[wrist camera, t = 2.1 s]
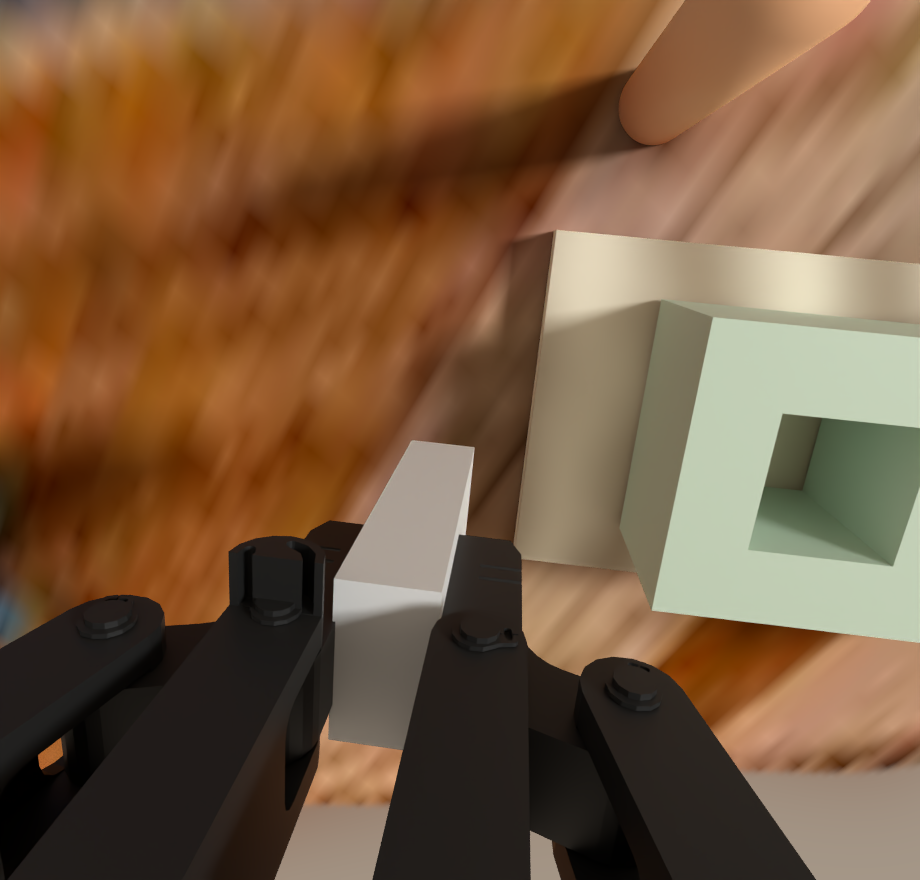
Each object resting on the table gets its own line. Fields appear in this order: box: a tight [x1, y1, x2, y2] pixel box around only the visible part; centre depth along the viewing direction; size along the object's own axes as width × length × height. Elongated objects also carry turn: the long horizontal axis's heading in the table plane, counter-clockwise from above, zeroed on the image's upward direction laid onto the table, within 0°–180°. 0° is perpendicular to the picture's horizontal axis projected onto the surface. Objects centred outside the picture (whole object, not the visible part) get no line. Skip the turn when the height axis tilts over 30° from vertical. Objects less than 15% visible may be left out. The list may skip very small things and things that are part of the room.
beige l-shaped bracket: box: [514, 230, 920, 573], centre depth 21 cm, size 22×13×10 cm, turn 84°
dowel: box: [619, 0, 871, 145], centre depth 16 cm, size 3×3×12 cm
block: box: [619, 299, 920, 643], centre depth 21 cm, size 9×9×6 cm
